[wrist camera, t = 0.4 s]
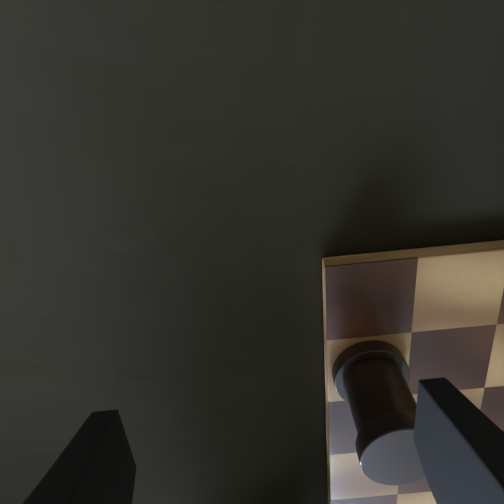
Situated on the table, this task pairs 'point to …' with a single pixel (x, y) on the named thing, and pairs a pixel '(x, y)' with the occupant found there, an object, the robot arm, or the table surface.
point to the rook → (380, 410)
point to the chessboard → (413, 341)
